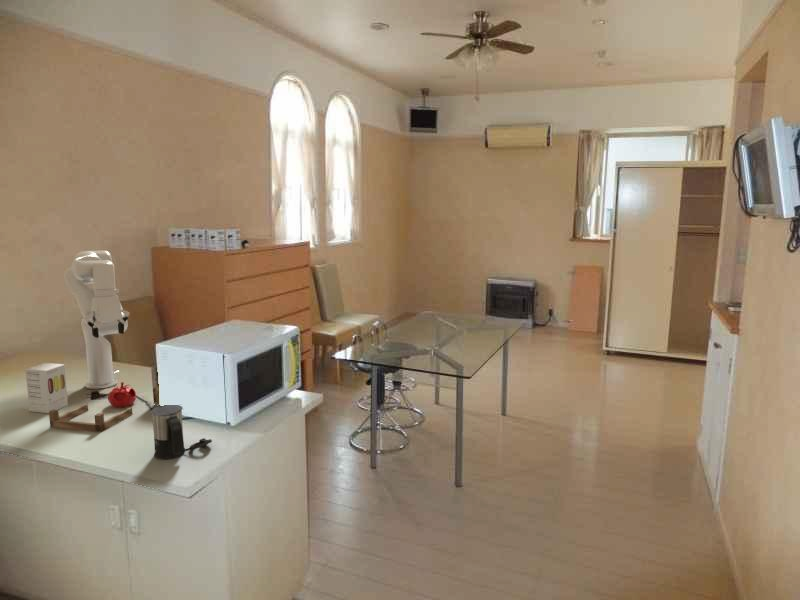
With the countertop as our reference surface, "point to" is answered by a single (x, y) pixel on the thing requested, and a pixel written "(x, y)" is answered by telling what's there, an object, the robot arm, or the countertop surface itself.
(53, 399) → the supplement box
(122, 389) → the red tomato
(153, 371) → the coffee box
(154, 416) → the milk frother
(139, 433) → the countertop surface
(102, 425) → the display stand
